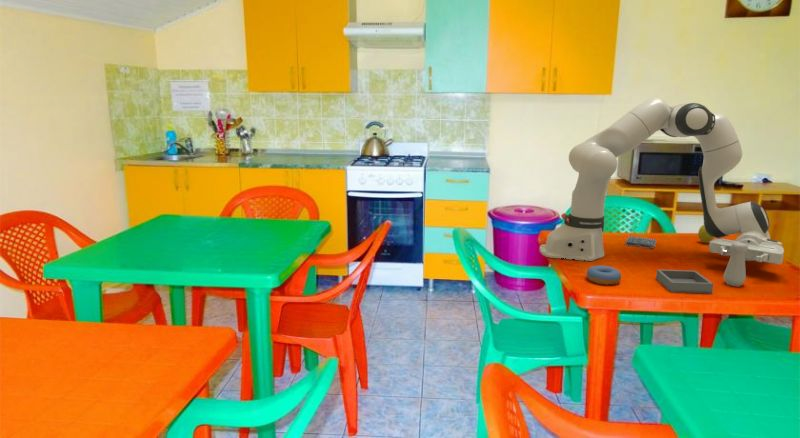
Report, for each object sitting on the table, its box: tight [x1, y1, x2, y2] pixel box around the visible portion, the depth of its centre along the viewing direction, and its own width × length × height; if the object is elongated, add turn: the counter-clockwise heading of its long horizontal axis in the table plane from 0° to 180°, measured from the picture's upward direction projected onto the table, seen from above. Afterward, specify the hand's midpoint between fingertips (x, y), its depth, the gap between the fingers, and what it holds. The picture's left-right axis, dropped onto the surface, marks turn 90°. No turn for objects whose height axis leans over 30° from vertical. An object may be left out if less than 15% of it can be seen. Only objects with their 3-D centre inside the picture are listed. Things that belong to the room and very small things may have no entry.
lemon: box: [697, 224, 715, 244], centre depth 207 cm, size 6×6×8 cm
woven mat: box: [624, 235, 657, 250], centre depth 207 cm, size 10×11×2 cm
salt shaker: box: [723, 242, 748, 288], centre depth 163 cm, size 6×6×13 cm
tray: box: [655, 269, 714, 295], centre depth 162 cm, size 12×12×3 cm
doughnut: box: [586, 265, 622, 285], centre depth 167 cm, size 10×10×5 cm
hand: (741, 256), depth 167 cm, fingers open, 8 cm apart
